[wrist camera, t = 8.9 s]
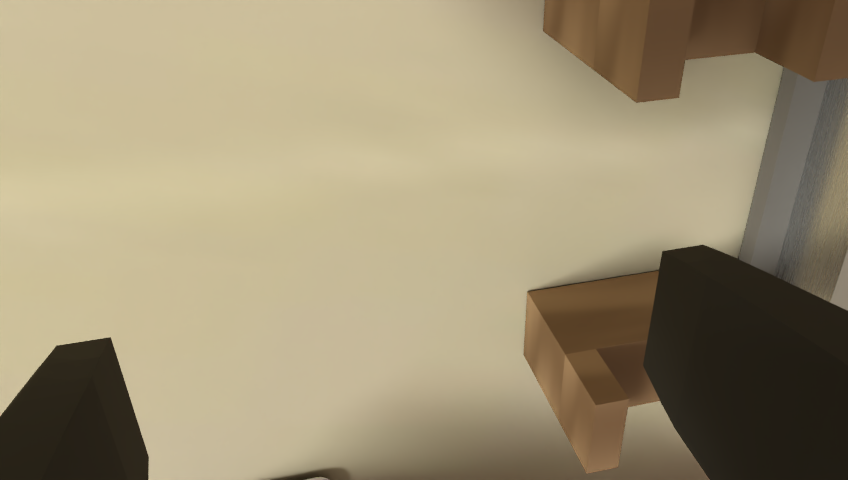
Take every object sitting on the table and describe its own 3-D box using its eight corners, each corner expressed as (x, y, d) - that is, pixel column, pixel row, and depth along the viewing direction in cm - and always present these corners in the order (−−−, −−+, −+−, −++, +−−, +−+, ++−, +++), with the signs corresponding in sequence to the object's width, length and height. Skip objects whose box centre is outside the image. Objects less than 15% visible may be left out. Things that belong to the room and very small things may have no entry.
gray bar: (818, 353, 27) (829, 364, 27) (710, 374, 27) (720, 385, 26) (1009, -219, 18) (1032, -219, 17) (850, -214, 17) (869, -213, 17)
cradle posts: (659, 330, 25) (747, 439, 21) (523, 354, 24) (586, 473, 20) (736, -90, 18) (890, -52, 14) (549, -77, 17) (654, -33, 13)
